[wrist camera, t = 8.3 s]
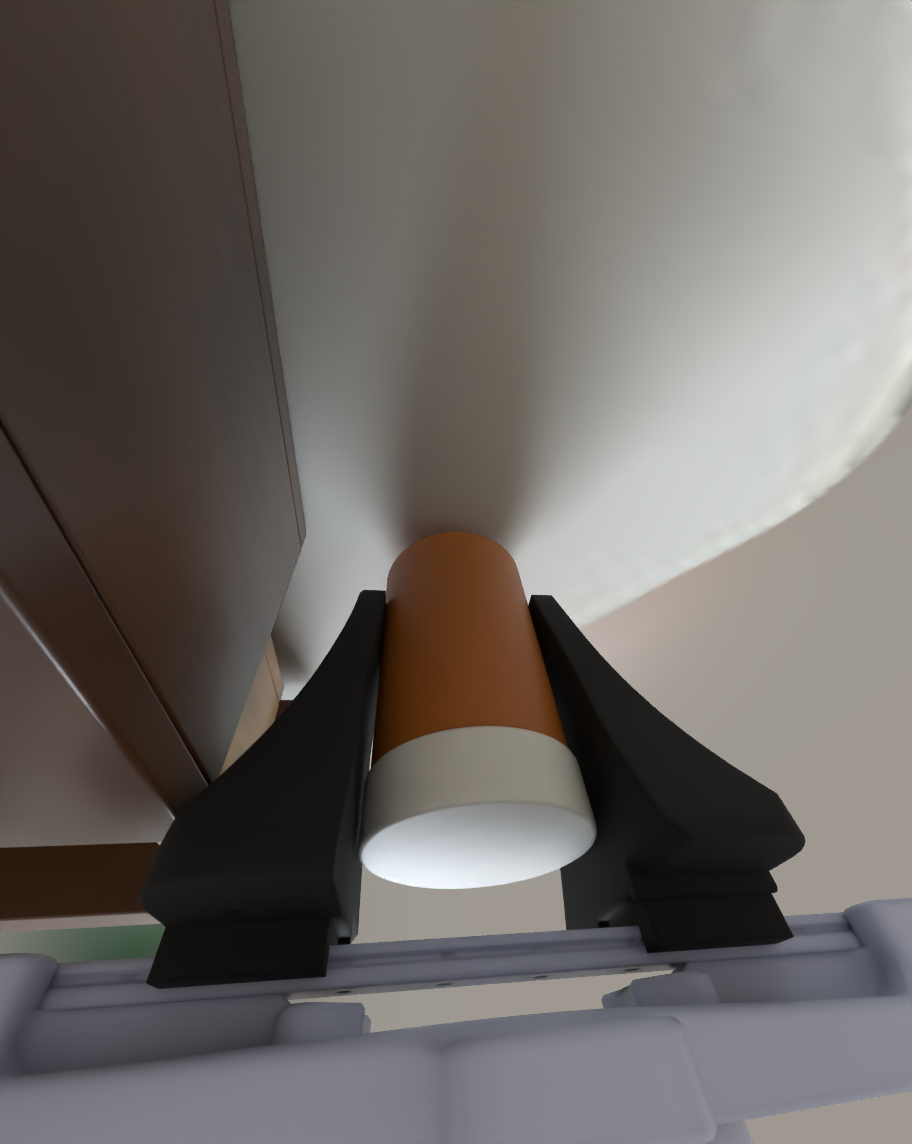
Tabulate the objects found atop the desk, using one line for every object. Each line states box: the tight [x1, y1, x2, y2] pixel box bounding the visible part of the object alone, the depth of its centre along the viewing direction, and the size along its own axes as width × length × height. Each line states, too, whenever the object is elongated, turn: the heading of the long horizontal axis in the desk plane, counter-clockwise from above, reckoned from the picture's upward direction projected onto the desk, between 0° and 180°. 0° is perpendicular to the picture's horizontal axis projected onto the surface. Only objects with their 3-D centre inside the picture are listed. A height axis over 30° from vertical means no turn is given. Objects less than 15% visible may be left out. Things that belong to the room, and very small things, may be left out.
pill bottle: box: [358, 532, 597, 889], centre depth 11 cm, size 4×4×8 cm
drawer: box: [0, 635, 293, 932], centre depth 12 cm, size 17×13×7 cm
